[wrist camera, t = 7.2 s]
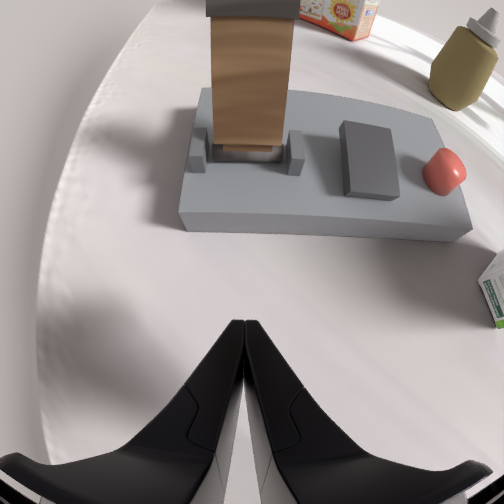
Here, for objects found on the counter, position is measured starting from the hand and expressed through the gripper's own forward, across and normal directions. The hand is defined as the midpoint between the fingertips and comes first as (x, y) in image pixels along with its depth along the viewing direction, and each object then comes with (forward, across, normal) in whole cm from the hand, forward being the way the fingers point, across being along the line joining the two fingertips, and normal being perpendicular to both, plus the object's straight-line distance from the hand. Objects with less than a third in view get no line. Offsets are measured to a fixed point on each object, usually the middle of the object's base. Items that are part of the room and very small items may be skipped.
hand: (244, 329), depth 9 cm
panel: (+15, -7, -4) cm, 17 cm away
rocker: (+11, -8, -4) cm, 14 cm away
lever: (+11, 0, -5) cm, 12 cm away
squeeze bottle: (+27, -27, -15) cm, 41 cm away
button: (+11, -15, -4) cm, 19 cm away
